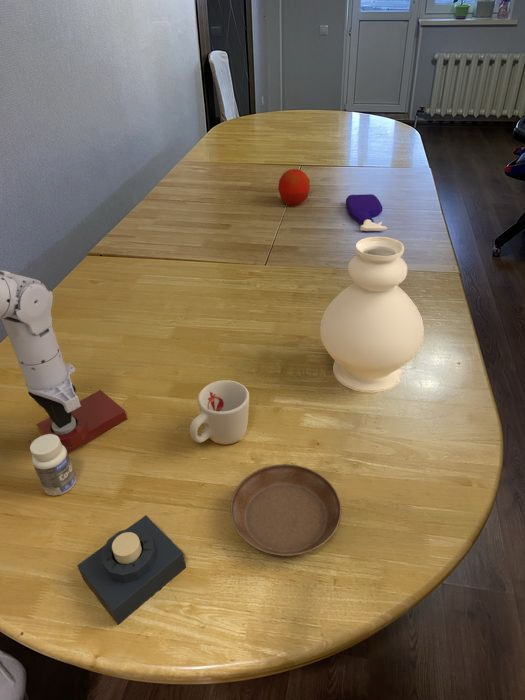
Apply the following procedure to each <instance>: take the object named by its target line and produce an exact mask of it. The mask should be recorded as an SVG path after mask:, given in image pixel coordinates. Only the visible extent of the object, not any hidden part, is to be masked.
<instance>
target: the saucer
mask: <svg viewBox="0 0 525 700" xmlns="http://www.w3.org/2000/svg"><path fill="white" fill-rule="evenodd" d="M229 509H230V510H229V511H230V512H229V513H230V520H231V523H232V525H233V527H234V529H235V530H236V532H237V533H238V534H239V536H240V537H241V538H242V539H243V540H244V541H245V542H246V543H247V544H249V546H252V547H253V548H255V549H256V550H259V551H261V552H263V553H265V554H270V555H274V556H282V557H291V556H298V555H303V554H307V553H310V552H312V551H314V550H317V549H318V548H320V547H321V546H323V545H324V544H325V543H326V542H327V541H329V540H330V539H331V538H332V536H333V535H334V533H336V531H337V529H338V527H339V524H340V522H341V517H342V503H341V499H340V497H339V494H338V492H337V490H336V489H335V487H334V486H333V484H332V483H331V482H330V481H329V480H328V479H327V478H326V477H325V476H323V475H322V474H320V473H318V472H317V471H315V470H312V469H311V468H309V467H306V466H301V465H298V464H289V463H283V464H273V465H268V466H264V467H261V468H259V469H257V470H255V471H253V472H251V473H250V474H248V475H247V476H246V477H244V479H242V481H241V482H239V484H238V485H237V487H236V488H235V489H234V492H233V495H232V496H231V500H230V506H229Z"/></svg>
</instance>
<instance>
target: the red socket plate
mask: <svg viewBox="0 0 525 700" xmlns="http://www.w3.org/2000/svg"><path fill="white" fill-rule="evenodd" d="M79 402H80V405H81V406H80V407H79V408H77V409H75V410H73V411H71V416H72V417H74V418H75V420H76V423H77V426H76V428H75V429H74V430H72V431H71V432H69V433H67V434H62V435H58V434H54V432H53V429H52V423H53V421H52V420H51V418H50V417H49V416H48V417H47V418H45V419H43V420H42V421H39V422H38V423H36V424H35V425H36V429H37V431H38V434H40V436H43V435H46V434H53V435H56V436H58V437H59V439H60V441H61V444H62V445H63V446H64V447H65V448H66V450H67V453H68V455H69V454H71V453H73V452H74V451H76V450H78V449H80V448H81V447H83V446H84V445H86V444H88V443H90V442H91V441H93V440H95V439H96V438H98V437H100V436H102V435H103V434H105V433H106V432H108V431H109V430H112V429H113V428H115V427H117V426H118V425H120V424H121V423H123V422H125V421H126V420H128V417H127V412H126V410H125V408H123V407H122V406H120V405H119V404H118V403H117V402H116V401H115V400H114V399H112V398H111V397H110V396H109V395H107V394H106V393H105V392H104V391H102V390H101V389H99V390H97V391H96V392H94V393H91V394H90V395H88V396H86V397H84V398H82V399H79Z"/></svg>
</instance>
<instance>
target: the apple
mask: <svg viewBox="0 0 525 700" xmlns="http://www.w3.org/2000/svg"><path fill="white" fill-rule="evenodd" d="M277 186H278V187H277V189H278V192H279V196H280V200H281V201H282V202H283V203H284V204H285V205H287V206H289V207H296V206H300V205H301V204H302V203H303V202H305V201H306V200H307V199H308V197H309V193H310V189H311V186H310V178H309V177H308V175H307V173H305V172H304V171H303V170H301V169H298V168H291V169H288V170H286V171H284V172H283V174H282V175H281V177H280V178H279V180H278V185H277Z"/></svg>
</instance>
